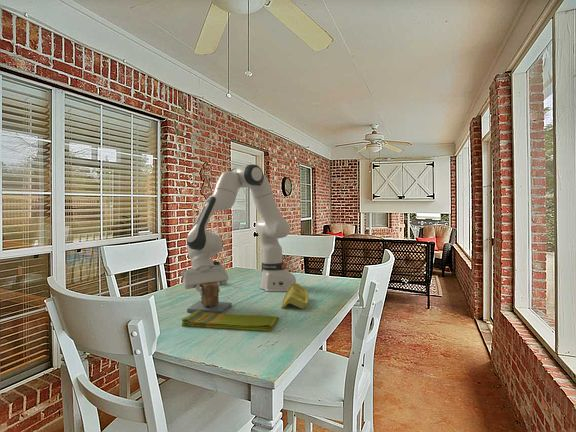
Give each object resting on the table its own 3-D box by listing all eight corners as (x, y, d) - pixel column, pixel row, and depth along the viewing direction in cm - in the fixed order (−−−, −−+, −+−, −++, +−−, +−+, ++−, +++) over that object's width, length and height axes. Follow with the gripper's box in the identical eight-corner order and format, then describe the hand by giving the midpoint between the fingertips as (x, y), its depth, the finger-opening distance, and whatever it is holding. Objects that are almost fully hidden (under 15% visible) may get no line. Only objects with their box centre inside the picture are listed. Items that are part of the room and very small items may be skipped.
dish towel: (198, 314, 145) (198, 307, 145) (279, 319, 138) (279, 311, 138) (180, 327, 130) (180, 319, 130) (270, 334, 123) (270, 325, 123)
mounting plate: (231, 305, 155) (231, 292, 155) (222, 314, 143) (221, 299, 143) (199, 304, 158) (199, 290, 158) (187, 312, 146) (186, 297, 146)
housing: (213, 301, 154) (213, 281, 154) (218, 304, 150) (218, 284, 149) (201, 303, 151) (201, 283, 151) (206, 306, 146) (205, 286, 146)
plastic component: (308, 304, 149) (287, 295, 149) (301, 319, 150) (280, 309, 150) (308, 289, 169) (290, 281, 169) (302, 302, 170) (284, 293, 170)
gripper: (181, 266, 150) (188, 292, 142) (224, 261, 161) (233, 286, 153) (178, 274, 154) (185, 300, 146) (220, 269, 165) (229, 293, 157)
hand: (210, 293), depth 150 cm, fingers closed on housing, 6 cm apart
